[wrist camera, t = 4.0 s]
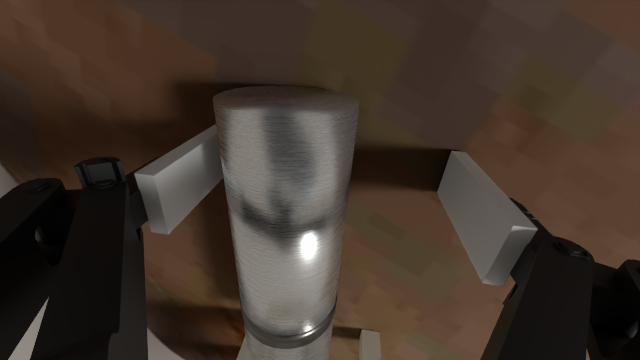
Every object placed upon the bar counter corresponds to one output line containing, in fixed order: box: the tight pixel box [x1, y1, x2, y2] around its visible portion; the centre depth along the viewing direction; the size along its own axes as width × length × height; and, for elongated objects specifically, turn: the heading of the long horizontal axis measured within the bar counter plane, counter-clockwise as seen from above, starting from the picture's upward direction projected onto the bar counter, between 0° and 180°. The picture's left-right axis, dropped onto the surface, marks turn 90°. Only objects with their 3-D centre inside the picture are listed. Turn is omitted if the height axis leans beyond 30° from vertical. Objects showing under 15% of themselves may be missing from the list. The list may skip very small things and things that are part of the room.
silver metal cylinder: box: [213, 86, 359, 360], centre depth 15 cm, size 18×6×6 cm, turn 177°
